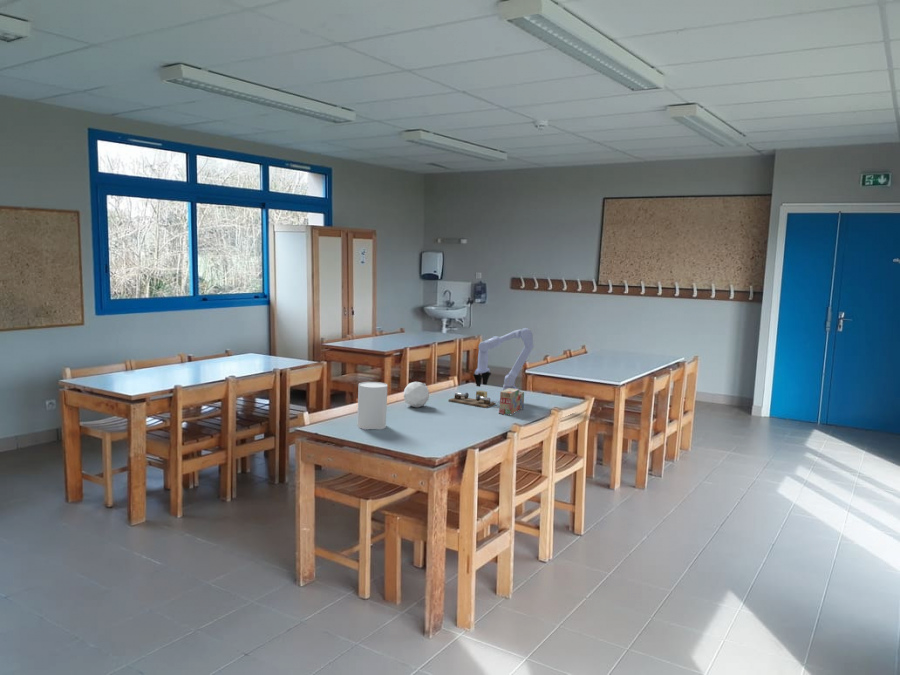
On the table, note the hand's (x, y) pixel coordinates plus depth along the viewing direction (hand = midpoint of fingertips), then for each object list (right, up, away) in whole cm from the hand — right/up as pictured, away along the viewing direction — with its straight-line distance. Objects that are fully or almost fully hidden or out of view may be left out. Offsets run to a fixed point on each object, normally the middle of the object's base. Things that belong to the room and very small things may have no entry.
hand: (481, 385), depth 387 cm
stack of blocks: (+15, -13, -24) cm, 31 cm away
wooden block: (0, -9, 0) cm, 9 cm away
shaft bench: (-6, -9, -9) cm, 14 cm away
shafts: (-6, -8, -9) cm, 13 cm away
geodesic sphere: (-37, -10, -25) cm, 46 cm away
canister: (-56, -14, -71) cm, 91 cm away
